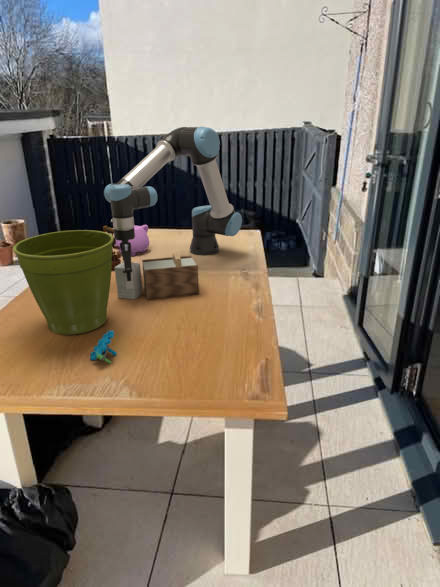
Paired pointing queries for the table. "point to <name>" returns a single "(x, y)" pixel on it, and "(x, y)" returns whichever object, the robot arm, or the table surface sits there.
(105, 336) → the blue angular piece
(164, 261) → the lid
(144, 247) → the pink piggy bank
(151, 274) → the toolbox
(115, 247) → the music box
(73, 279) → the plant pot
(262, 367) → the table surface
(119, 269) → the supplement box
